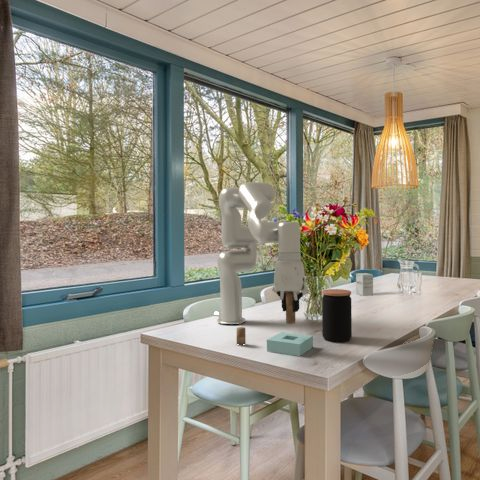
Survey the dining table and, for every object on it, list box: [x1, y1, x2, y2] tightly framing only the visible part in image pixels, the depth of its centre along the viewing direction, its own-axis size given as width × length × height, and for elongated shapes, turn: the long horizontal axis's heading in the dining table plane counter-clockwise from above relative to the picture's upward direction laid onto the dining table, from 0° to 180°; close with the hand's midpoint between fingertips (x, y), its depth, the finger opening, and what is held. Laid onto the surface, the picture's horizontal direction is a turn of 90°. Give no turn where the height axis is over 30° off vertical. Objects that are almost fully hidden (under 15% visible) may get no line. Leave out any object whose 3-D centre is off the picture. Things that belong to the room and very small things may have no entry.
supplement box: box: [355, 272, 374, 297], centre depth 261 cm, size 7×7×13 cm
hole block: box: [266, 331, 314, 357], centre depth 151 cm, size 12×12×4 cm
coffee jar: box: [321, 288, 353, 344], centre depth 163 cm, size 11×11×18 cm
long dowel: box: [285, 291, 296, 325], centre depth 150 cm, size 3×3×12 cm
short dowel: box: [236, 326, 247, 345], centre depth 157 cm, size 3×3×6 cm
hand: (290, 310), depth 150 cm, fingers closed on long dowel, 3 cm apart
